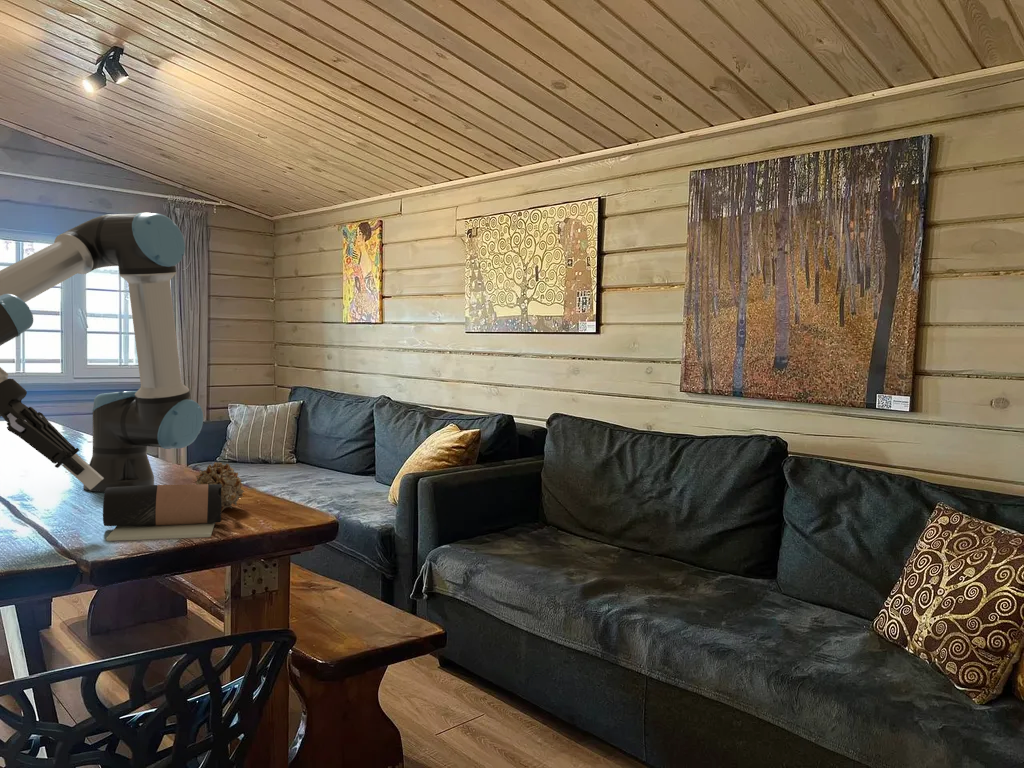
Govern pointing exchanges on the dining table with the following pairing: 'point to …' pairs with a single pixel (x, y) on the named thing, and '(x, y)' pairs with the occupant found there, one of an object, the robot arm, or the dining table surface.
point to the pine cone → (223, 482)
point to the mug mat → (161, 532)
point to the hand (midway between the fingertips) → (97, 484)
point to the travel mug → (162, 505)
